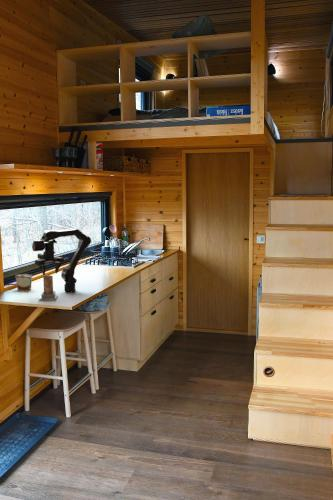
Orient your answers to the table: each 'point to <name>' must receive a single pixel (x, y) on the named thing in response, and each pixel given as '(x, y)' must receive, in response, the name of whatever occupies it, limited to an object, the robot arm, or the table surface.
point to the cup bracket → (48, 296)
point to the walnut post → (48, 284)
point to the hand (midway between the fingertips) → (50, 274)
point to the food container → (24, 281)
